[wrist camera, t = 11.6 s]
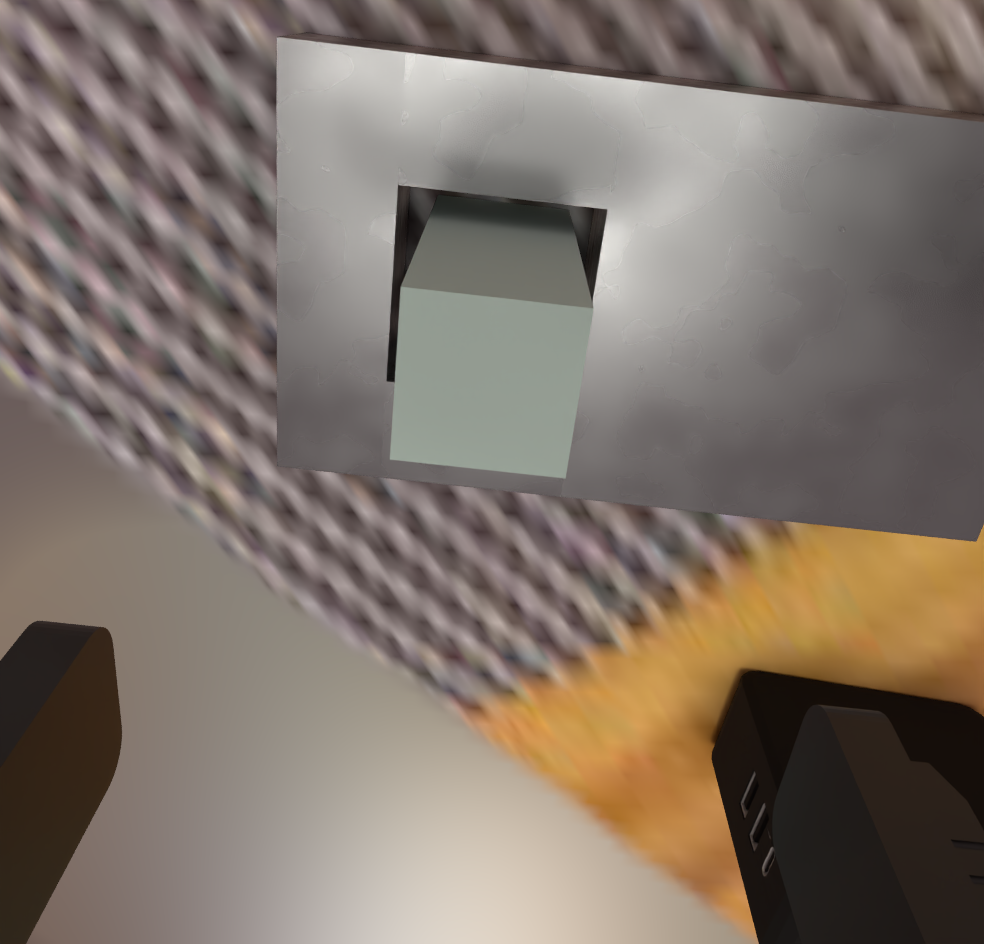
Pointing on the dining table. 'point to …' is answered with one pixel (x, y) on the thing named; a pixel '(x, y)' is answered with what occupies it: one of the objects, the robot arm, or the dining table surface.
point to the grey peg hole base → (656, 279)
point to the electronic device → (767, 749)
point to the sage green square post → (491, 339)
